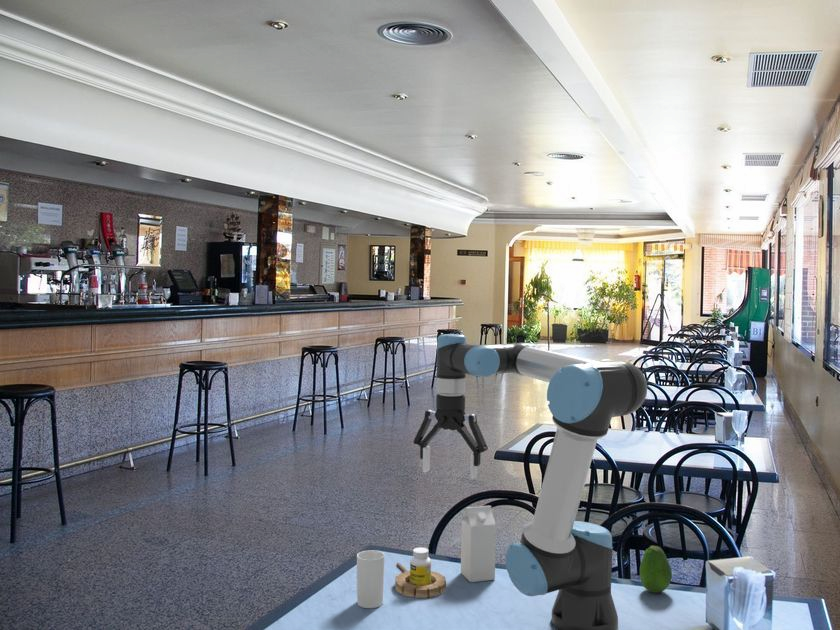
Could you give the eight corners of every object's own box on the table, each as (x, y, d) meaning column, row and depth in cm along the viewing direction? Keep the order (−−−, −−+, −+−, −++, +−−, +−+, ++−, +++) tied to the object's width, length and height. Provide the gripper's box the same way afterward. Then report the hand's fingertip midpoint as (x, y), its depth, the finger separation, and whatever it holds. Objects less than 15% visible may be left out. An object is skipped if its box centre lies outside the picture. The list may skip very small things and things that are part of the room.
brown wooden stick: (412, 577, 204) (412, 575, 204) (410, 578, 204) (410, 576, 204) (399, 564, 214) (399, 562, 214) (396, 565, 213) (396, 563, 213)
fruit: (677, 593, 197) (679, 547, 196) (659, 601, 192) (660, 553, 191) (650, 583, 203) (652, 538, 202) (632, 590, 198) (633, 545, 197)
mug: (379, 610, 184) (380, 561, 183) (352, 607, 185) (353, 558, 185) (389, 593, 194) (390, 547, 193) (364, 591, 195) (364, 544, 195)
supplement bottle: (406, 588, 197) (406, 551, 197) (416, 581, 202) (416, 544, 201) (424, 593, 195) (425, 555, 194) (434, 585, 199) (434, 548, 199)
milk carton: (460, 573, 208) (461, 503, 208) (484, 570, 210) (486, 502, 210) (470, 582, 202) (471, 511, 201) (495, 580, 204) (496, 509, 203)
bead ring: (454, 583, 201) (454, 575, 201) (431, 601, 189) (431, 593, 189) (410, 574, 207) (410, 566, 207) (386, 590, 195) (386, 583, 195)
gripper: (501, 395, 197) (499, 477, 198) (415, 388, 208) (413, 465, 209) (489, 399, 190) (488, 484, 191) (401, 391, 201) (400, 471, 202)
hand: (449, 474), depth 200 cm, fingers open, 13 cm apart
